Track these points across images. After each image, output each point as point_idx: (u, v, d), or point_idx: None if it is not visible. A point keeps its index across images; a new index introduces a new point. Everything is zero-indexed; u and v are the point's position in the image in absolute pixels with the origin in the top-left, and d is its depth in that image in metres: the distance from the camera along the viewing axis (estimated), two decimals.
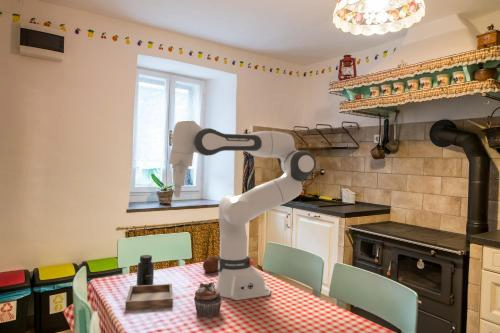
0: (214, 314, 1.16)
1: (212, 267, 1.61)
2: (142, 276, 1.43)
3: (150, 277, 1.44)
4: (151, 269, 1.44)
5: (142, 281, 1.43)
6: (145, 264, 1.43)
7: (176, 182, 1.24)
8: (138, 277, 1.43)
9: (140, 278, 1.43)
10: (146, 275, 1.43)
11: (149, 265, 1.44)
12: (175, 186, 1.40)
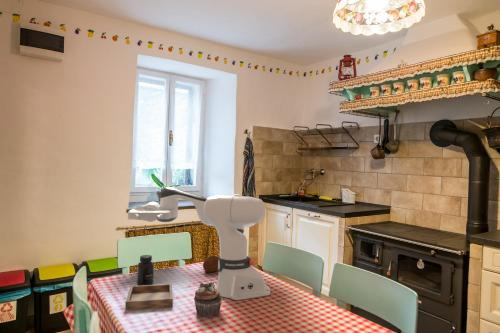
0: (214, 314, 1.16)
1: (212, 267, 1.61)
2: (142, 276, 1.43)
3: (150, 277, 1.44)
4: (151, 269, 1.44)
5: (142, 281, 1.43)
6: (145, 264, 1.43)
7: (170, 213, 1.70)
8: (138, 277, 1.43)
9: (140, 278, 1.43)
10: (146, 275, 1.43)
11: (149, 265, 1.44)
12: (136, 215, 1.65)
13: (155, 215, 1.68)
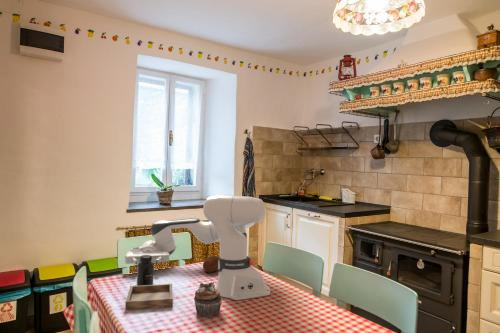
0: (214, 314, 1.16)
1: (212, 267, 1.61)
2: (142, 276, 1.43)
3: (150, 277, 1.44)
4: (151, 269, 1.44)
5: (142, 281, 1.43)
6: (145, 264, 1.43)
7: (169, 255, 1.65)
8: (138, 277, 1.43)
9: (140, 278, 1.43)
10: (147, 275, 1.43)
11: (149, 265, 1.44)
12: None
13: (153, 258, 1.63)
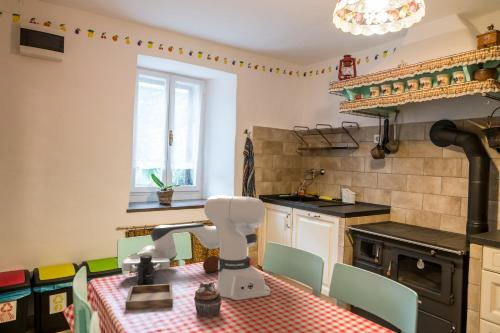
0: (214, 314, 1.16)
1: (212, 267, 1.61)
2: (142, 276, 1.43)
3: (150, 277, 1.44)
4: (151, 269, 1.44)
5: (142, 281, 1.43)
6: (145, 264, 1.43)
7: (169, 262, 1.53)
8: (138, 277, 1.43)
9: (140, 278, 1.43)
10: (146, 274, 1.43)
11: (149, 265, 1.44)
12: None
13: None
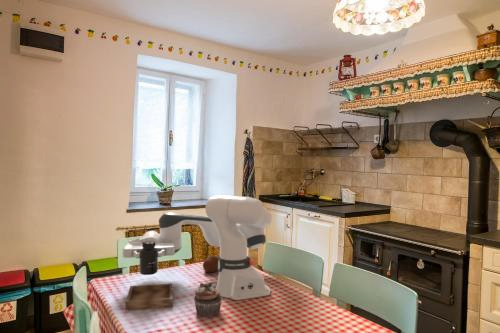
0: (214, 314, 1.16)
1: (212, 267, 1.61)
2: (145, 263, 1.30)
3: (154, 264, 1.31)
4: (155, 256, 1.32)
5: (146, 269, 1.30)
6: (148, 250, 1.30)
7: (174, 247, 1.40)
8: (141, 265, 1.30)
9: (143, 266, 1.30)
10: (150, 262, 1.30)
11: (153, 251, 1.31)
12: None
13: None
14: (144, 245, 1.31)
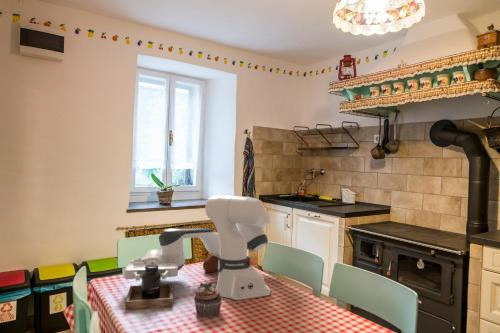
0: (214, 314, 1.16)
1: (212, 267, 1.61)
2: (147, 288, 1.26)
3: (156, 290, 1.27)
4: (157, 281, 1.28)
5: (148, 294, 1.26)
6: (151, 275, 1.27)
7: (177, 268, 1.36)
8: (143, 290, 1.27)
9: (145, 291, 1.26)
10: (152, 287, 1.26)
11: (155, 276, 1.27)
12: None
13: (159, 272, 1.34)
14: (147, 270, 1.27)
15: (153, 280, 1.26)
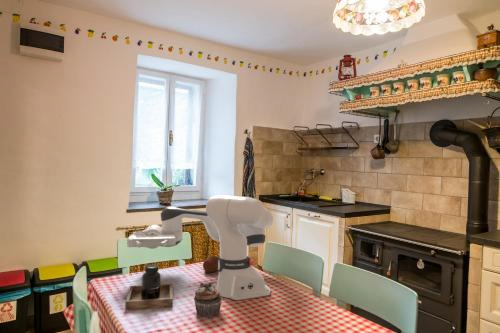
0: (214, 314, 1.16)
1: (212, 267, 1.61)
2: (147, 288, 1.26)
3: (156, 290, 1.27)
4: (157, 281, 1.28)
5: (148, 294, 1.26)
6: (151, 275, 1.27)
7: (175, 238, 1.50)
8: (143, 290, 1.27)
9: (145, 291, 1.26)
10: (152, 287, 1.26)
11: (155, 276, 1.27)
12: None
13: (158, 241, 1.48)
14: (147, 270, 1.27)
15: (153, 280, 1.26)
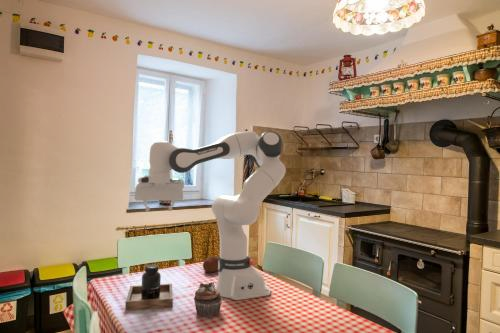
0: (214, 314, 1.16)
1: (212, 267, 1.61)
2: (147, 288, 1.26)
3: (156, 290, 1.27)
4: (157, 281, 1.28)
5: (148, 294, 1.26)
6: (151, 275, 1.27)
7: (182, 197, 1.49)
8: (143, 290, 1.27)
9: (145, 291, 1.26)
10: (152, 287, 1.26)
11: (155, 276, 1.27)
12: (145, 203, 1.46)
13: None
14: (147, 270, 1.27)
15: (153, 280, 1.26)
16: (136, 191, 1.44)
